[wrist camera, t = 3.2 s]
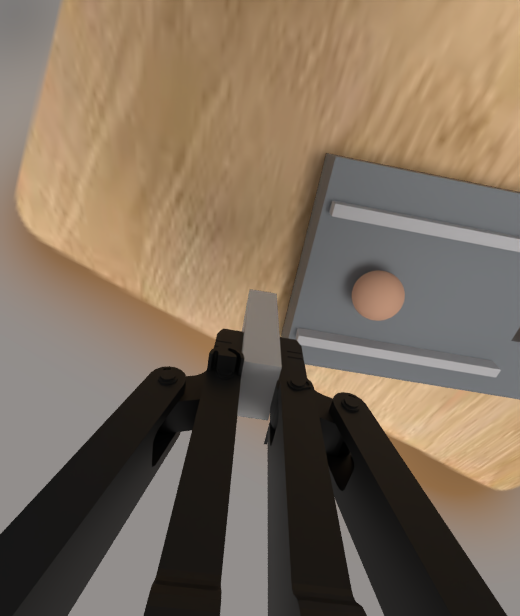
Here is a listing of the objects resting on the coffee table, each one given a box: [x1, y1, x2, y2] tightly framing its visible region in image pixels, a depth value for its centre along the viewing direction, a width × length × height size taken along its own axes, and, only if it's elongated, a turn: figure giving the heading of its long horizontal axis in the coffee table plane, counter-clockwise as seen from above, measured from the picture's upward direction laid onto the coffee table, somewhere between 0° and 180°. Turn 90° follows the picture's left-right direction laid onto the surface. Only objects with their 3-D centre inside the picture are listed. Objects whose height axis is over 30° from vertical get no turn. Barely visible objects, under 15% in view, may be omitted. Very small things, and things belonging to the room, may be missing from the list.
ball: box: [352, 270, 405, 321], centre depth 23 cm, size 4×4×4 cm
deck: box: [281, 153, 520, 399], centre depth 26 cm, size 16×26×6 cm, turn 80°
